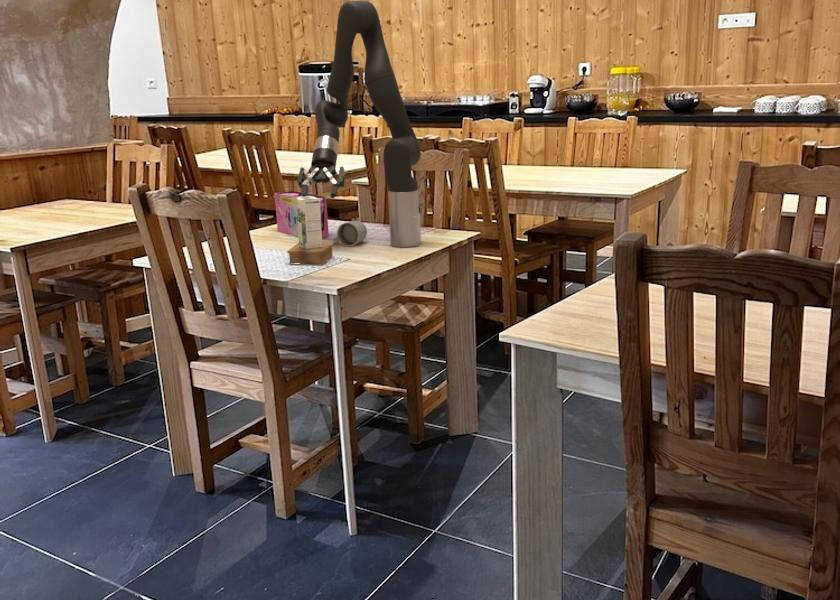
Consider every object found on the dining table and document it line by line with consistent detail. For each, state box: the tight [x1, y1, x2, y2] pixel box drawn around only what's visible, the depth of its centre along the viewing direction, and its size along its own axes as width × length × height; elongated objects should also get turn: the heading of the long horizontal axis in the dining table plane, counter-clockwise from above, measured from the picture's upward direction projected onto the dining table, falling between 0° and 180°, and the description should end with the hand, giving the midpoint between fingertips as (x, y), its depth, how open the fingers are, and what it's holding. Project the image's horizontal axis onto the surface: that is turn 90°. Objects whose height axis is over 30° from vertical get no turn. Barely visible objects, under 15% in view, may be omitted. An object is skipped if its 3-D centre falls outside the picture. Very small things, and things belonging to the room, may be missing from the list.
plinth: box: [286, 242, 335, 265], centre depth 230 cm, size 11×11×4 cm
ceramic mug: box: [332, 220, 368, 247], centre depth 250 cm, size 11×8×8 cm
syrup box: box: [297, 196, 323, 249], centre depth 228 cm, size 6×6×14 cm
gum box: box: [274, 190, 330, 239], centre depth 266 cm, size 24×8×14 cm, turn 38°
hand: (318, 197), depth 236 cm, fingers open, 8 cm apart
